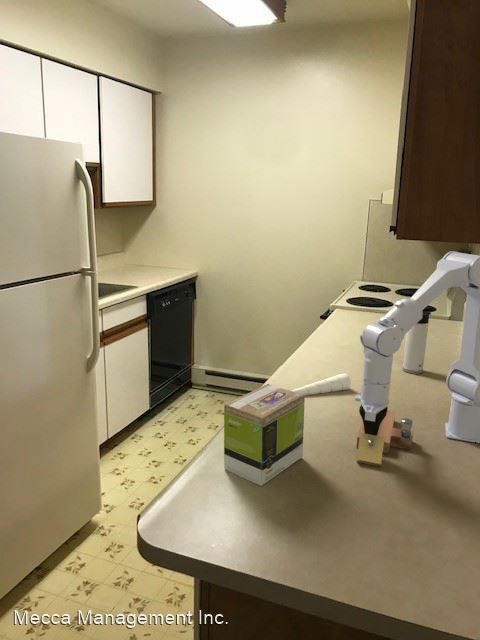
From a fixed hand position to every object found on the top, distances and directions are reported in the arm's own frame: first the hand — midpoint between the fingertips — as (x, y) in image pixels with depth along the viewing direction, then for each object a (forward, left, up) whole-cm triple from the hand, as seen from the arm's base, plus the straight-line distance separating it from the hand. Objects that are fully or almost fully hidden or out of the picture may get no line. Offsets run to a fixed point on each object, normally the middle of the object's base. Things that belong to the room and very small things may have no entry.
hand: (370, 438), depth 109 cm
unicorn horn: (+18, -29, -4) cm, 35 cm away
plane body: (-3, -10, -3) cm, 11 cm away
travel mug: (-7, -61, -4) cm, 62 cm away
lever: (-7, -4, +1) cm, 8 cm away
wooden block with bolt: (-1, +3, -1) cm, 3 cm away
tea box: (+20, +14, -4) cm, 25 cm away
